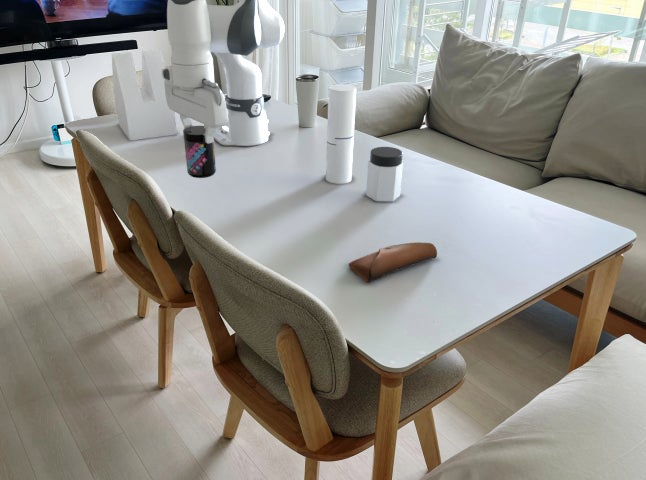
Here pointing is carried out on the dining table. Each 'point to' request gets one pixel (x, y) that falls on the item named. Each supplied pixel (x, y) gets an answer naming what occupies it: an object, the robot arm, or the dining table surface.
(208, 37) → the robot arm
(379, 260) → the sunglasses case
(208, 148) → the supplement container
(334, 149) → the cylindrical container
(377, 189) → the jar
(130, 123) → the white notched block
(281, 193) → the dining table surface
